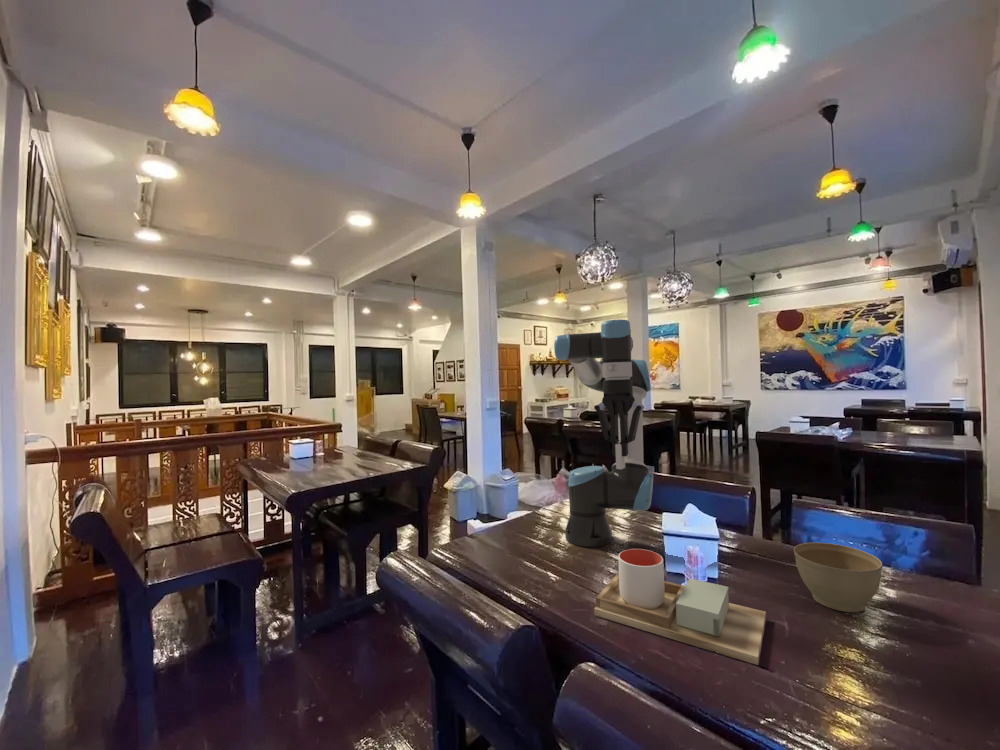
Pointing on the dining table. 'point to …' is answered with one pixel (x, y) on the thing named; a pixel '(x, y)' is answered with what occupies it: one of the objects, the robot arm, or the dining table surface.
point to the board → (735, 638)
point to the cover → (703, 606)
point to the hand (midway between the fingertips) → (620, 468)
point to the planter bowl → (838, 575)
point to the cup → (641, 578)
